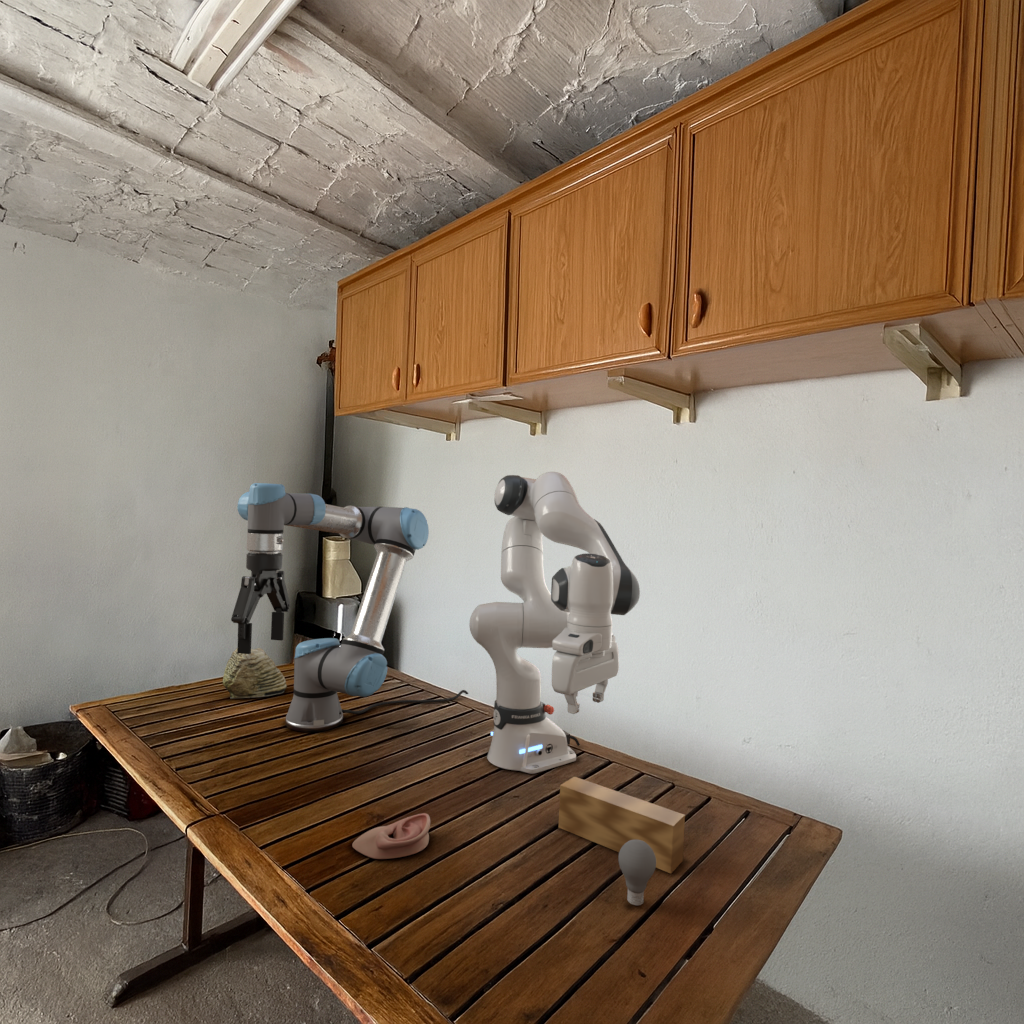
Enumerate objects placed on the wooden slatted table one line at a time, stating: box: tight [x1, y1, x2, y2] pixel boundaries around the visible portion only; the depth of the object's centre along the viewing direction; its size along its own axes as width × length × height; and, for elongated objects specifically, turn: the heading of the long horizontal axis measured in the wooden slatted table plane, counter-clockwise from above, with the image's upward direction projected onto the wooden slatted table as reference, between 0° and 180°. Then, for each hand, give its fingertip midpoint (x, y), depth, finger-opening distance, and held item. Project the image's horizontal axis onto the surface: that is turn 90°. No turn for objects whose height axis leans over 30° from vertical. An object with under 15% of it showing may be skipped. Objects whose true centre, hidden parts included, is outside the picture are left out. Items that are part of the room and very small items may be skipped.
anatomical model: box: [351, 812, 431, 860], centre depth 117 cm, size 13×4×12 cm
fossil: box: [222, 647, 288, 699], centre depth 198 cm, size 9×18×15 cm, turn 132°
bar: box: [557, 776, 686, 875], centre depth 120 cm, size 24×5×8 cm, turn 53°
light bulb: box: [618, 839, 657, 906], centre depth 102 cm, size 6×6×10 cm
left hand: (261, 646), depth 142 cm, fingers open, 13 cm apart
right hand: (585, 706), depth 125 cm, fingers open, 8 cm apart
